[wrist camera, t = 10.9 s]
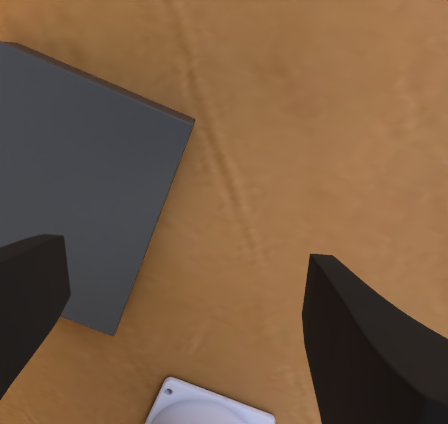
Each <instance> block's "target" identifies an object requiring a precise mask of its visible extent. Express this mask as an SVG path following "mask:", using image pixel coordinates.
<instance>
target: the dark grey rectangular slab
mask: <svg viewBox="0 0 448 424" xmlns="http://www.w3.org/2000/svg"><path fill="white" fill-rule="evenodd" d="M194 122H195V119H193V118H191V117H188V116H186V115H184V114H182V113H179V112H177V111H175V110H172V109H170V108H168V107H165V106H163V105H161V104H158V103H156V102H154V101H151V100H149V99H147V98H144V97H142V96H140V95H137V94H135V93H133V92H130V91H128V90H126V89H123V88H121V87H119V86H116V85H114V84H112V83H109V82H107V81H105V80H102V79H100V78H98V77H95V76H93V75H91V74H88V73H86V72H84V71H81V70H79V69H77V68H74V67H72V66H70V65H67V64H65V63H63V62H60V61H58V60H56V59H53V58H51V57H49V56H46V55H44V54H42V53H39V52H37V51H35V50H32V49H30V48H28V47H25V46H23V45H21V44H18V43H13V42H1V41H0V247H3V246H6V245H8V244H11V243H14V242H17V241H20V240H23V239H26V238H30V237H33V236H37V235H42V234H50V235H64V240H65V248H66V257H67V265H68V273H69V282H70V290H71V296H70V298H69V300H68V302H67V304H66V306H65V308H64V310H63V312H62V314H61V315H60V316H61V317H64V318H66V319H69V320H71V321H74V322H77V323H79V324H82V325H84V326H87V327H90V328H92V329H95V330H97V331H100V332H103V333H105V334H108V335H111V336H114V335H115V333H116V330H117V327H118V325H119V322H120V319H121V317H122V314H123V311H124V309H125V306H126V304H127V301H128V298H129V296H130V293H131V290H132V288H133V285H134V282H135V280H136V277H137V274H138V272H139V269H140V266H141V264H142V261H143V258H144V256H145V253H146V250H147V248H148V245H149V242H150V240H151V237H152V234H153V232H154V229H155V226H156V224H157V221H158V219H159V216H160V213H161V211H162V208H163V205H164V203H165V200H166V197H167V195H168V192H169V189H170V187H171V184H172V181H173V179H174V176H175V173H176V171H177V168H178V165H179V163H180V160H181V157H182V155H183V152H184V149H185V147H186V144H187V141H188V139H189V136H190V134H191V131H192V128H193V126H194Z"/></svg>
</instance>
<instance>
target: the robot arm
mask: <svg viewBox="0 0 448 424" xmlns="http://www.w3.org/2000/svg"><path fill="white" fill-rule="evenodd" d="M70 296H71V290H70V282H69V273H68V265H67V257H66V248H65V240H64V235H50V234H42V235H37V236H33V237H30V238H26V239H23V240H20V241H17V242H14V243H11V244H8V245H6V246H3V247H0V400H1V398H2V397H3V395H4V394H5V393H6V391H7V390H8V388H9V387H10V385H11V384H12V383H13V381H14V380H15V378H16V377H17V376H18V374H19V373H20V372H21V370H22V369H23V368H24V366H25V365H26V364H27V362H28V361H29V360H30V358H31V357H32V356H33V354H34V353H35V352H36V350H37V349H38V348H39V346H40V345H41V344H42V342H43V341H44V339H45V338H46V337H47V335H48V334H49V332H50V331H51V330H52V328H53V327H54V325H55V324H56V323H57V321H58V319H59V317H60V315H61V314H62V312H63V310H64V308H65V306H66V304H67V302H68V300H69V298H70ZM302 321H303V333H304V344H305V349H306V354H307V358H308V363H309V367H310V372H311V376H312V381H313V385H314V390H315V394H316V398H317V403H318V407H319V412H320V416H321V422H322V424H448V339H447V338H445V337H443V336H442V335H440V334H438V333H436V332H434V331H433V330H431V329H429V328H428V327H426V326H424V325H423V324H421V323H420V322H418V321H416V320H415V319H413V318H411V317H410V316H408V315H407V314H405V313H404V312H402V311H401V310H399V309H398V308H397V307H395V306H394V305H393V304H391V303H390V302H388V301H387V300H386V299H384V298H383V297H382V296H380V295H379V294H378V293H377V292H375V291H374V290H373V289H372V288H370V287H369V286H368V285H367V284H366V283H364V282H363V281H362V280H361V279H360V278H358V277H357V276H356V275H355V274H354V273H353V272H352V271H350V270H349V269H348V268H347V267H346V266H345V265H344V264H342V263H341V262H340V261H339V260H338V259H336V258H335V257H334V256H332V255H322V254H310V259H309V266H308V273H307V281H306V288H305V296H304V303H303V310H302ZM167 389H170V390H167ZM145 424H275V418H274V416H273V415H271V414H269V413H266V412H264V411H261V410H258V409H256V408H253V407H250V406H248V405H245V404H242V403H240V402H237V401H235V400H232V399H229V398H227V397H224V396H221V395H219V394H216V393H214V392H211V391H208V390H206V389H203V388H200V387H198V386H195V385H192V384H190V383H187V382H185V381H182V380H179V379H177V378H174V377H168V378H166V379H165V381H164V383H163V385H162V387H161V390H160V392H159V394H158V396H157V398H156V400H155V402H154V405H153V407H152V409H151V411H150V413H149V415H148V417H147V420H146V422H145Z"/></svg>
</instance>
